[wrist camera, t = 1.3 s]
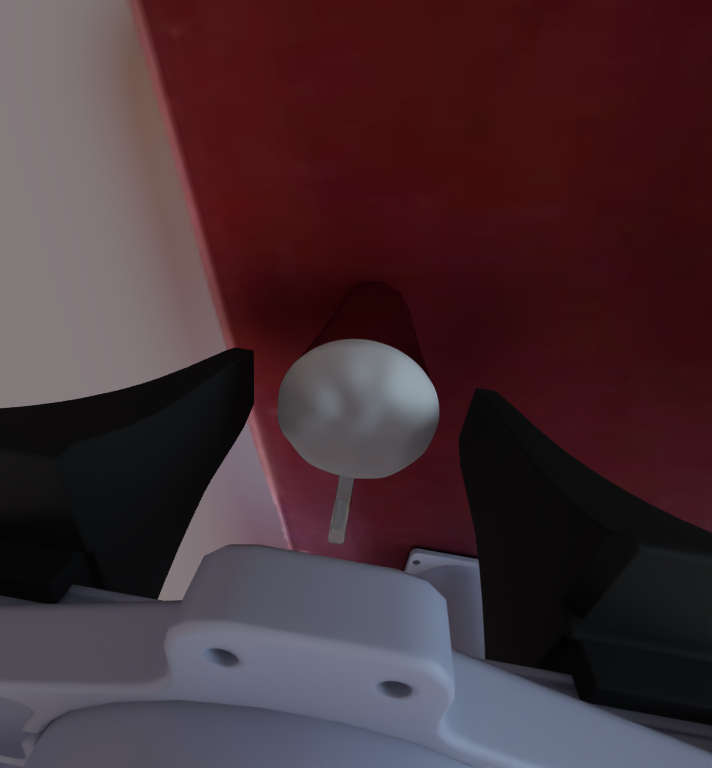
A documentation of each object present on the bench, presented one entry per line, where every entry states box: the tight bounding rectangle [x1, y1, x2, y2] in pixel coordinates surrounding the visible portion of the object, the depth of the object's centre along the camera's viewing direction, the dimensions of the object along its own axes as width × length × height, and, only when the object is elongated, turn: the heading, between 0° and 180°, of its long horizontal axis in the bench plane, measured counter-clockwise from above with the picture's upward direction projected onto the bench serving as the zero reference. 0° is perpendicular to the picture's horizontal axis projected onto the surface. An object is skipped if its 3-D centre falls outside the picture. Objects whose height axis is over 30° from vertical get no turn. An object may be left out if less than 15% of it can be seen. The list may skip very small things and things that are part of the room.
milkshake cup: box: [278, 282, 439, 544], centre depth 14 cm, size 5×5×10 cm
